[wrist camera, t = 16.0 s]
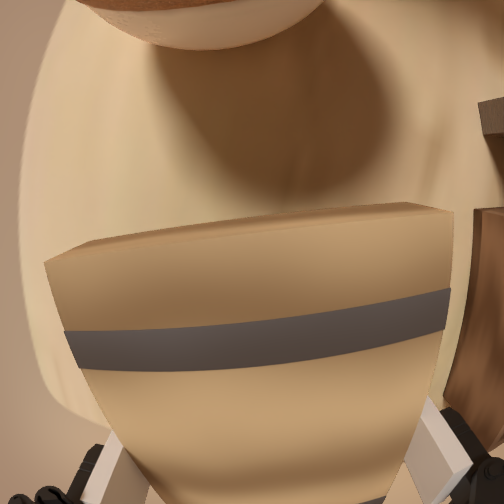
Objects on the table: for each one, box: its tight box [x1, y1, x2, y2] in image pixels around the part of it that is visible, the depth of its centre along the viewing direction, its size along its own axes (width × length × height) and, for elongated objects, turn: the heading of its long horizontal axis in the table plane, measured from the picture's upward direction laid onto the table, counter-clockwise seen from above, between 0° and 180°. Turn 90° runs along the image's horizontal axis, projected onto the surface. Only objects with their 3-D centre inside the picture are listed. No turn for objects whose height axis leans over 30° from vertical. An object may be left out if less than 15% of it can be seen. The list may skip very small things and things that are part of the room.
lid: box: [44, 202, 454, 504], centre depth 9 cm, size 16×10×4 cm, turn 7°
